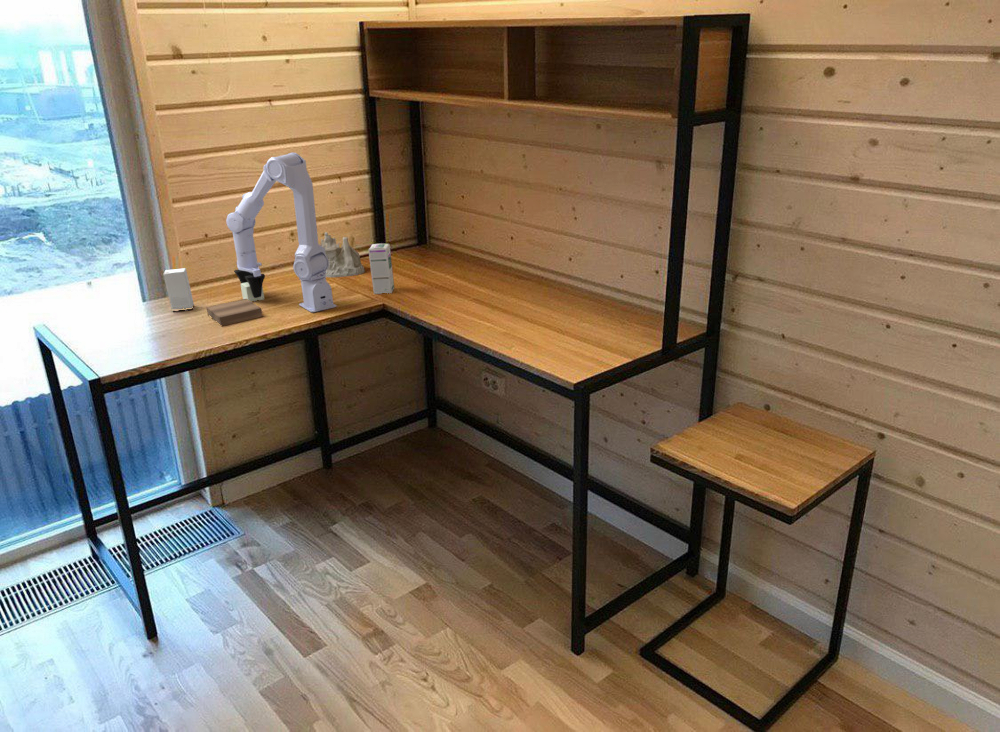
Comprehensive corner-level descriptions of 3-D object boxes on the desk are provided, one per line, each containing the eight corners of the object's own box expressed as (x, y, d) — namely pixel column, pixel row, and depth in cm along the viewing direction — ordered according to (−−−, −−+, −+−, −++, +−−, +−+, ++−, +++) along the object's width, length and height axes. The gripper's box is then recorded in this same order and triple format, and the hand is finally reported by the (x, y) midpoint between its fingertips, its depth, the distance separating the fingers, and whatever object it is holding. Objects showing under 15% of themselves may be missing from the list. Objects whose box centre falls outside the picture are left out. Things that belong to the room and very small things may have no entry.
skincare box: (194, 305, 241) (186, 267, 237) (193, 310, 237) (185, 271, 233) (173, 308, 240) (165, 269, 235) (171, 312, 236) (162, 273, 231)
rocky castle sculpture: (363, 275, 264) (356, 230, 259) (313, 279, 264) (306, 234, 259) (368, 265, 279) (362, 222, 274) (321, 269, 279) (314, 227, 274)
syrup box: (392, 293, 245) (387, 247, 239) (372, 294, 245) (368, 248, 240) (394, 288, 250) (390, 242, 245) (375, 288, 251) (371, 243, 245)
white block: (264, 299, 245) (262, 283, 243) (248, 302, 242) (246, 287, 240) (258, 295, 249) (256, 280, 247) (243, 299, 246) (240, 283, 244)
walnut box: (262, 318, 230) (261, 308, 229) (221, 327, 224) (219, 317, 222) (248, 308, 239) (246, 298, 238) (208, 316, 233) (206, 307, 232)
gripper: (267, 253, 236) (274, 296, 242) (249, 244, 247) (256, 286, 252) (244, 257, 233) (252, 301, 238) (227, 248, 243) (234, 291, 249)
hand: (252, 294), depth 245 cm, fingers open, 7 cm apart
